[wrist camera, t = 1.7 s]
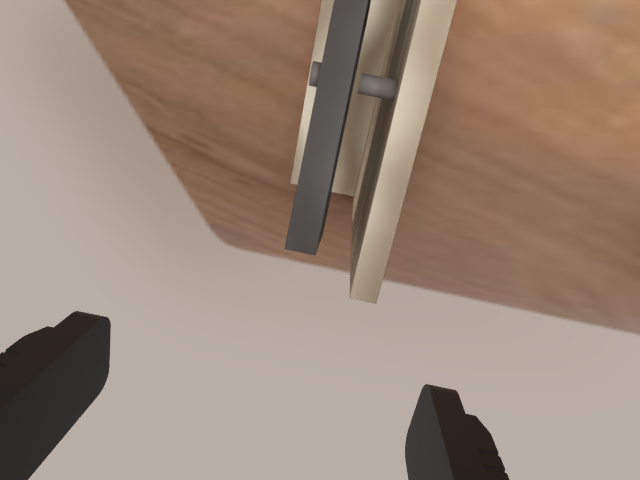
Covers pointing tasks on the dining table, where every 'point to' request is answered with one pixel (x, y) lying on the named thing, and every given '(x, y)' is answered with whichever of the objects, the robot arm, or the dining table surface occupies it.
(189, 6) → the dining table surface
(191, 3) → the dining table surface
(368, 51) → the wall board stand
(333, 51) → the picture frame
